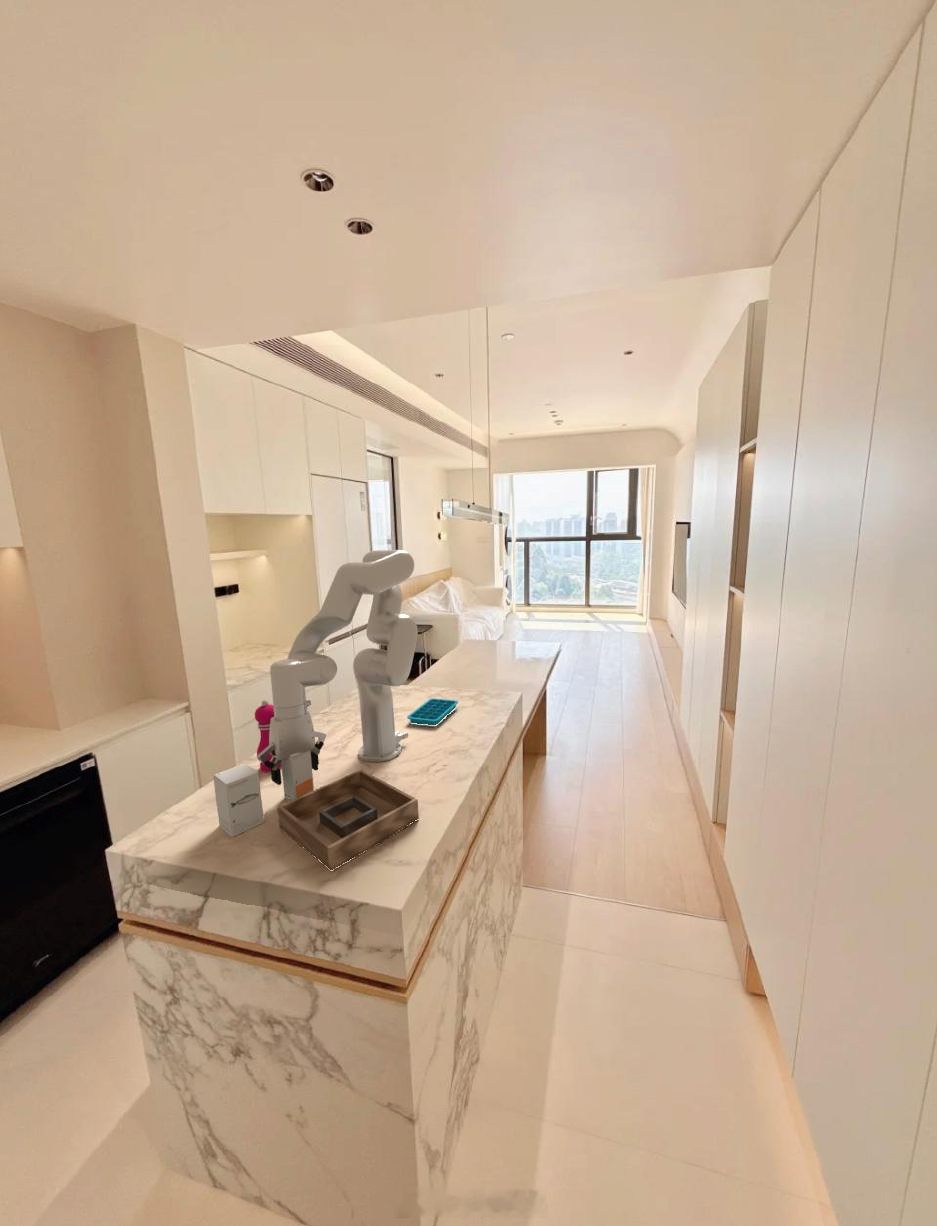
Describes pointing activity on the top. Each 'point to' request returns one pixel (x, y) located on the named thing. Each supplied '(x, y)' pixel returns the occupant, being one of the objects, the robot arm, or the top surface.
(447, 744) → the top surface
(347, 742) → the top surface
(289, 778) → the skincare box
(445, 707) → the ice cube tray
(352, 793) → the walled box
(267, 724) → the pepper mill
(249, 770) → the supplement box
